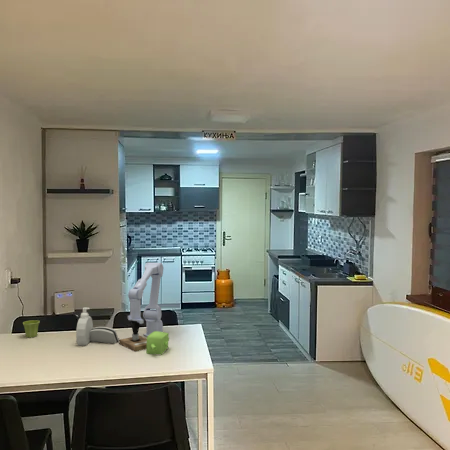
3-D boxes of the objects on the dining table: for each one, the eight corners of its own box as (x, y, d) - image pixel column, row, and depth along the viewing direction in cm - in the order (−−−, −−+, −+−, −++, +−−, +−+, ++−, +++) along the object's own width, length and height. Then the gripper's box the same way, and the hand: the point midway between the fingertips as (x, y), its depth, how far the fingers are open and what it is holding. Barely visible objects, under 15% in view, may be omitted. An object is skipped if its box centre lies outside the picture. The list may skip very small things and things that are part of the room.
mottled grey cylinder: (136, 343, 249) (136, 332, 249) (139, 344, 246) (139, 334, 246) (131, 344, 246) (130, 333, 246) (134, 345, 244) (134, 335, 244)
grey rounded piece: (120, 340, 253) (117, 326, 250) (116, 345, 249) (113, 331, 245) (94, 338, 257) (91, 324, 254) (90, 343, 253) (87, 329, 250)
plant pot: (22, 335, 264) (22, 321, 264) (39, 333, 268) (39, 319, 268) (22, 339, 256) (22, 324, 256) (40, 337, 260) (40, 323, 260)
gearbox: (160, 359, 224) (161, 341, 223) (142, 356, 226) (143, 338, 225) (172, 347, 241) (173, 331, 240) (156, 345, 243) (156, 329, 243)
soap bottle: (85, 346, 242) (85, 311, 242) (76, 346, 242) (75, 311, 241) (93, 338, 258) (93, 304, 258) (84, 338, 258) (84, 305, 257)
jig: (139, 339, 256) (139, 334, 256) (155, 346, 242) (155, 341, 242) (119, 343, 247) (119, 338, 247) (134, 351, 234) (134, 346, 234)
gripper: (122, 308, 249) (123, 332, 249) (135, 313, 238) (135, 338, 238) (134, 307, 253) (134, 330, 254) (146, 311, 242) (146, 335, 243)
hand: (135, 333), depth 246 cm, fingers closed
